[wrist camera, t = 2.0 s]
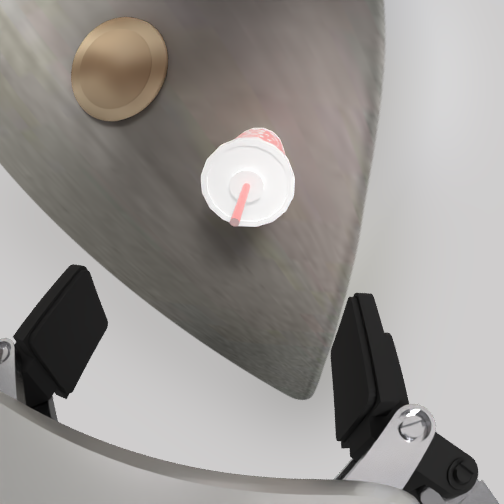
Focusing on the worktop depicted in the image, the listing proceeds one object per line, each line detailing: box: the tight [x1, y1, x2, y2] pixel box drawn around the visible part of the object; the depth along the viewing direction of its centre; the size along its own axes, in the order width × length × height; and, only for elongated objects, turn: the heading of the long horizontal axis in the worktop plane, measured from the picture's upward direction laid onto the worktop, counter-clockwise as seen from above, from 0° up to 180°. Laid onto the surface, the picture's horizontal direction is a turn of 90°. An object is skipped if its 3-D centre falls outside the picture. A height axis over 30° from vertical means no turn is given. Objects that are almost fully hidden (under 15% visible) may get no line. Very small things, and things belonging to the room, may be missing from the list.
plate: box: [71, 17, 168, 121], centre depth 21 cm, size 11×11×1 cm
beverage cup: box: [201, 128, 295, 227], centre depth 20 cm, size 6×6×14 cm
